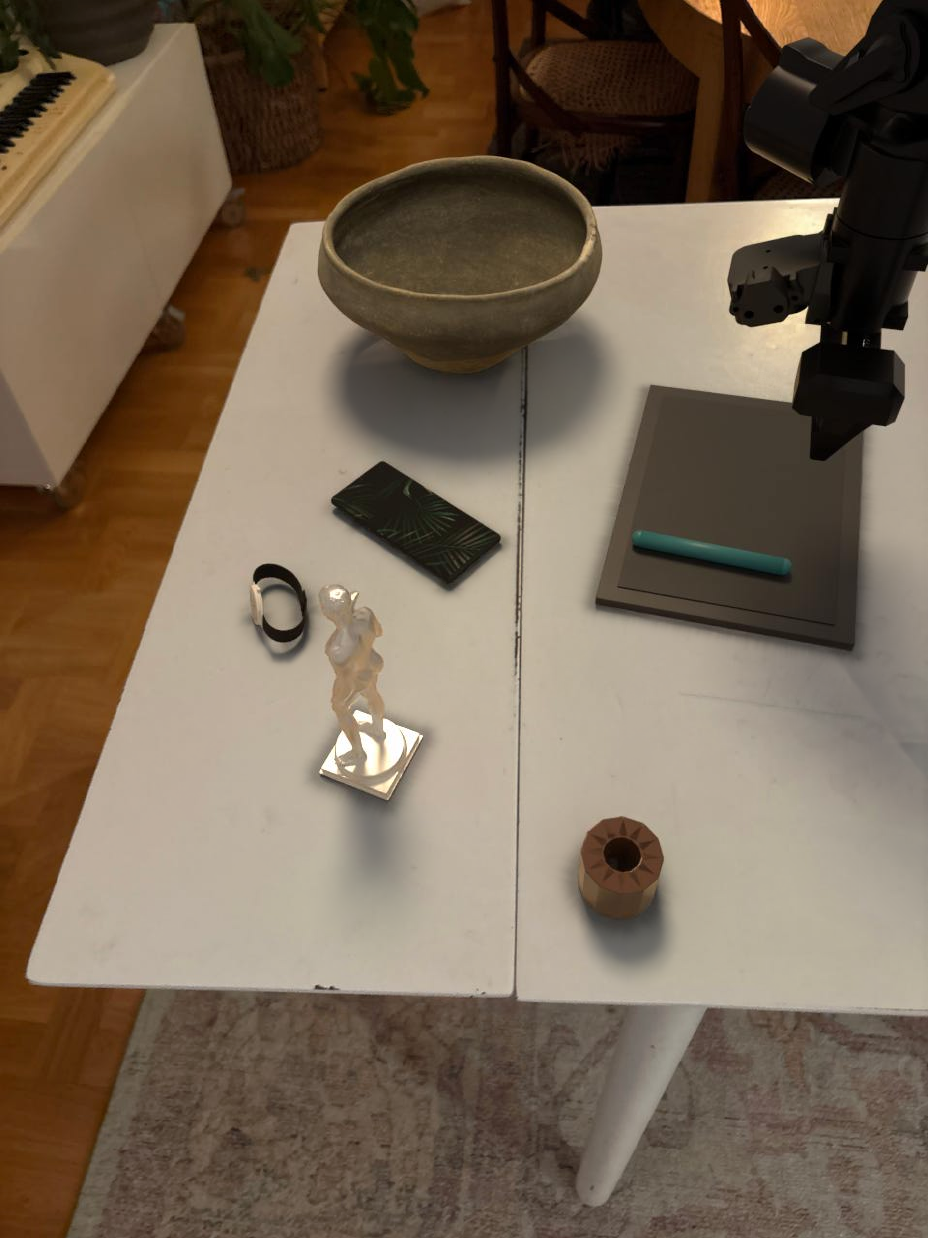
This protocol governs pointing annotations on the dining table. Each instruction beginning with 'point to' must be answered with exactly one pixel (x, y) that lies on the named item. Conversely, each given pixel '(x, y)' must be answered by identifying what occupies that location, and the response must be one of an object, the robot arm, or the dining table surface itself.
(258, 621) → the watch
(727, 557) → the stylus
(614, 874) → the pen stand
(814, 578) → the tablet
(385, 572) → the dining table surface
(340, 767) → the figurine
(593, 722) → the dining table surface
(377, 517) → the smartphone
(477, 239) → the bowl
